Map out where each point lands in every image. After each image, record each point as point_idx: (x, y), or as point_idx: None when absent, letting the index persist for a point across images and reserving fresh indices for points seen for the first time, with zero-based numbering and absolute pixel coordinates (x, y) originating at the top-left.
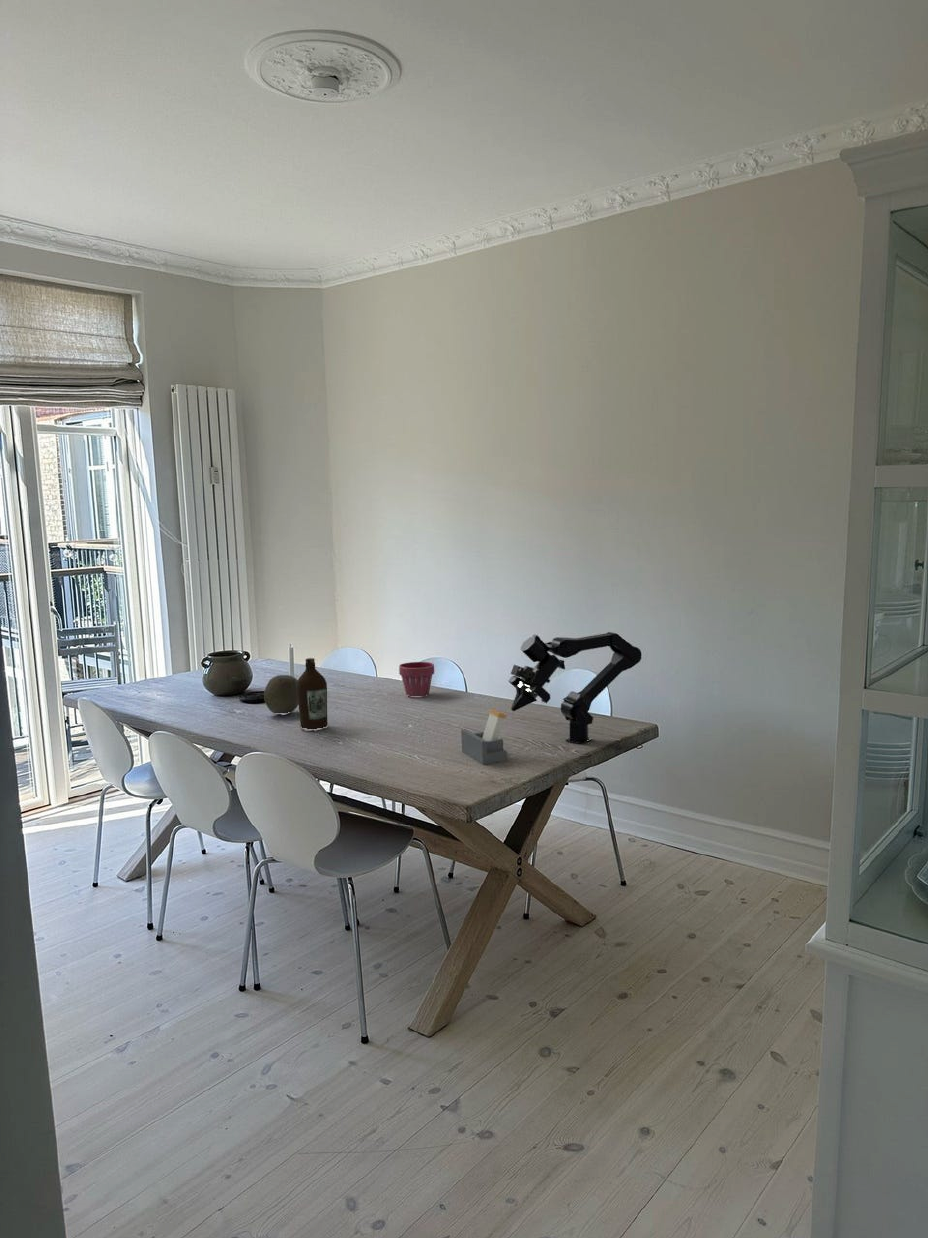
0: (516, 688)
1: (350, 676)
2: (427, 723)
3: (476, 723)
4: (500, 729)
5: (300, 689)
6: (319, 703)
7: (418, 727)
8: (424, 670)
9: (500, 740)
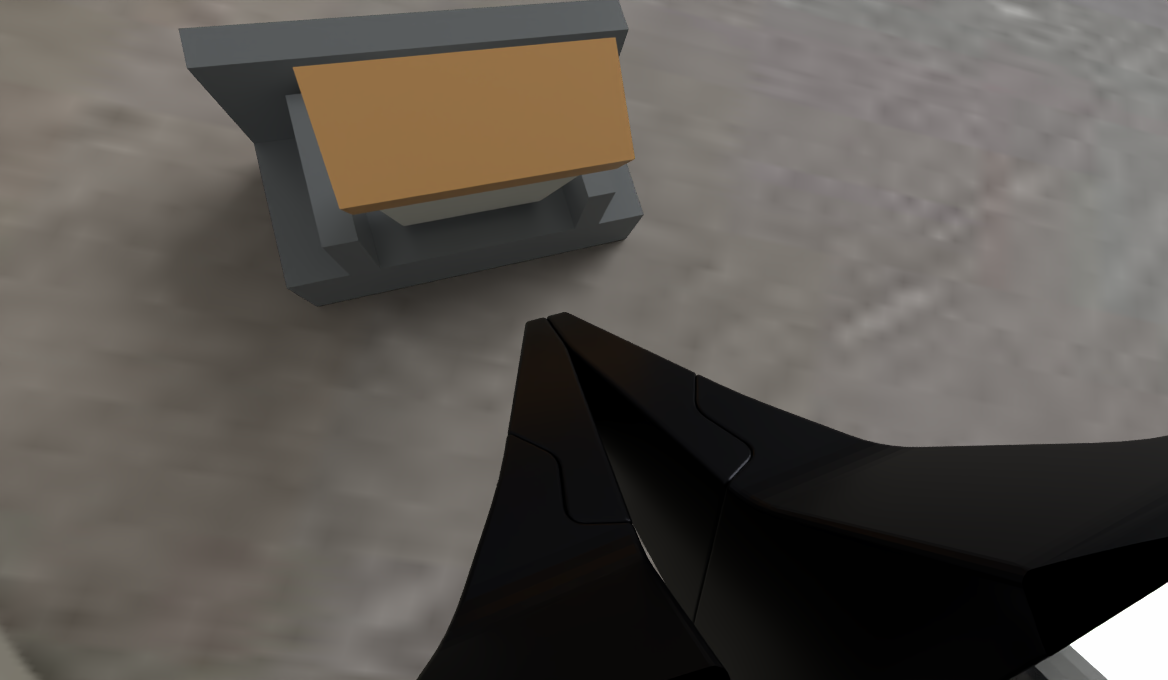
0: (1056, 460)
1: None
2: (1045, 81)
3: (1046, 283)
4: (384, 213)
5: None
6: None
7: (991, 33)
8: None
9: (319, 227)
